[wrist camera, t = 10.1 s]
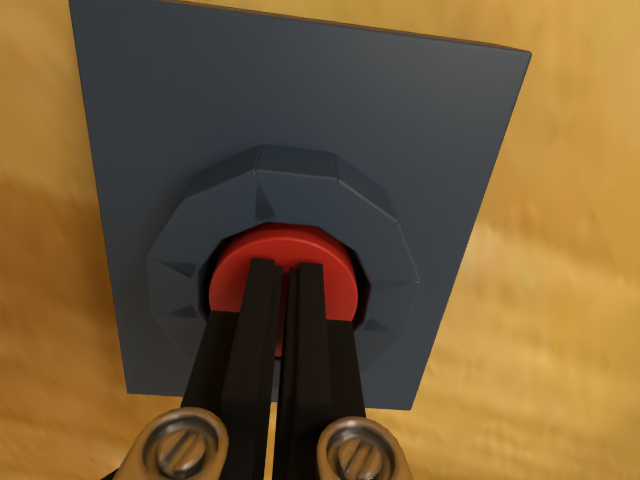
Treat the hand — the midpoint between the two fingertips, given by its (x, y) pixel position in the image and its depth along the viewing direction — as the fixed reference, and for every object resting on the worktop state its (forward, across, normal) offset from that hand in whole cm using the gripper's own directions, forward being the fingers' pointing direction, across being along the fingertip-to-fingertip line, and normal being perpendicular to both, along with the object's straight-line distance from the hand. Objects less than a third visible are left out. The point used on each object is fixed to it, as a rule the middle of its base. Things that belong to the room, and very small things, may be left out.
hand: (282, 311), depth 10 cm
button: (+2, 0, 0) cm, 2 cm away
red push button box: (+4, 0, 0) cm, 4 cm away
